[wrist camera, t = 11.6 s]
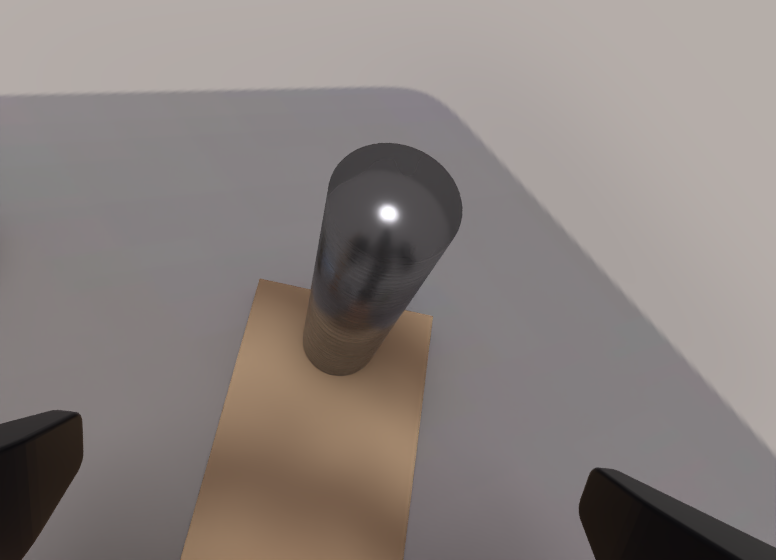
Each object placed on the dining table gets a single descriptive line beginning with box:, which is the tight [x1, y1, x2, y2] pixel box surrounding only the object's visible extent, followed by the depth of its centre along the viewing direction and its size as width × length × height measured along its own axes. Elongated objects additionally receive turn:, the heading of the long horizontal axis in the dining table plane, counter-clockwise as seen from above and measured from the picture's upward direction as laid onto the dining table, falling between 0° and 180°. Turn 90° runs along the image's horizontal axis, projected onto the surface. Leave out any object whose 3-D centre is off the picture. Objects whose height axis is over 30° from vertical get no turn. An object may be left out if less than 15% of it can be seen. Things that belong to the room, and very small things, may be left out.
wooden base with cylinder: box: [180, 143, 462, 560], centre depth 15 cm, size 18×8×13 cm, turn 172°
